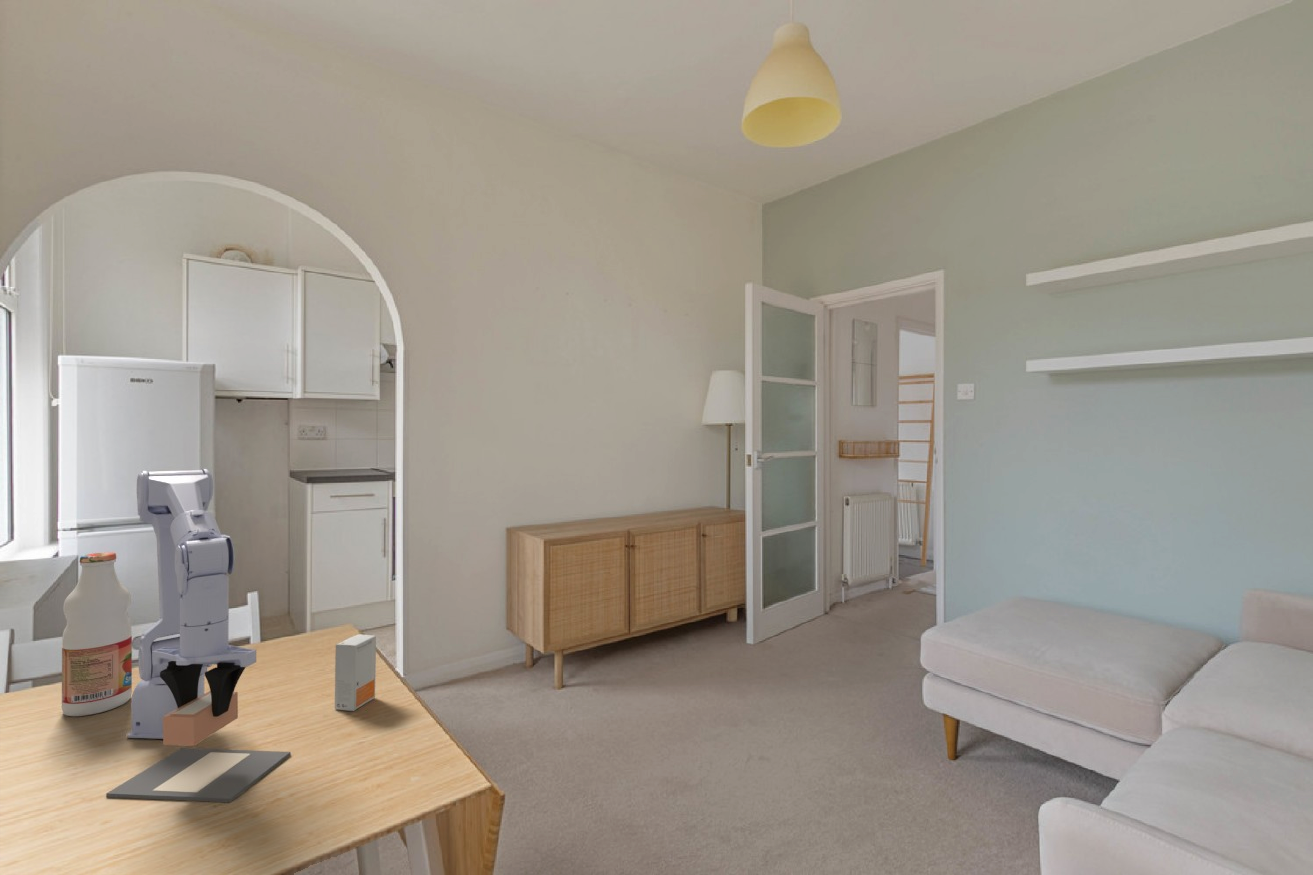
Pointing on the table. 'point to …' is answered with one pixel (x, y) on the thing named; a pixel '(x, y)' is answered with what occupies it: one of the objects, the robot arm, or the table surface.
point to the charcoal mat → (201, 775)
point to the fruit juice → (96, 640)
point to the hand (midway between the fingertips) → (204, 712)
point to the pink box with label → (196, 721)
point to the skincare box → (355, 672)
